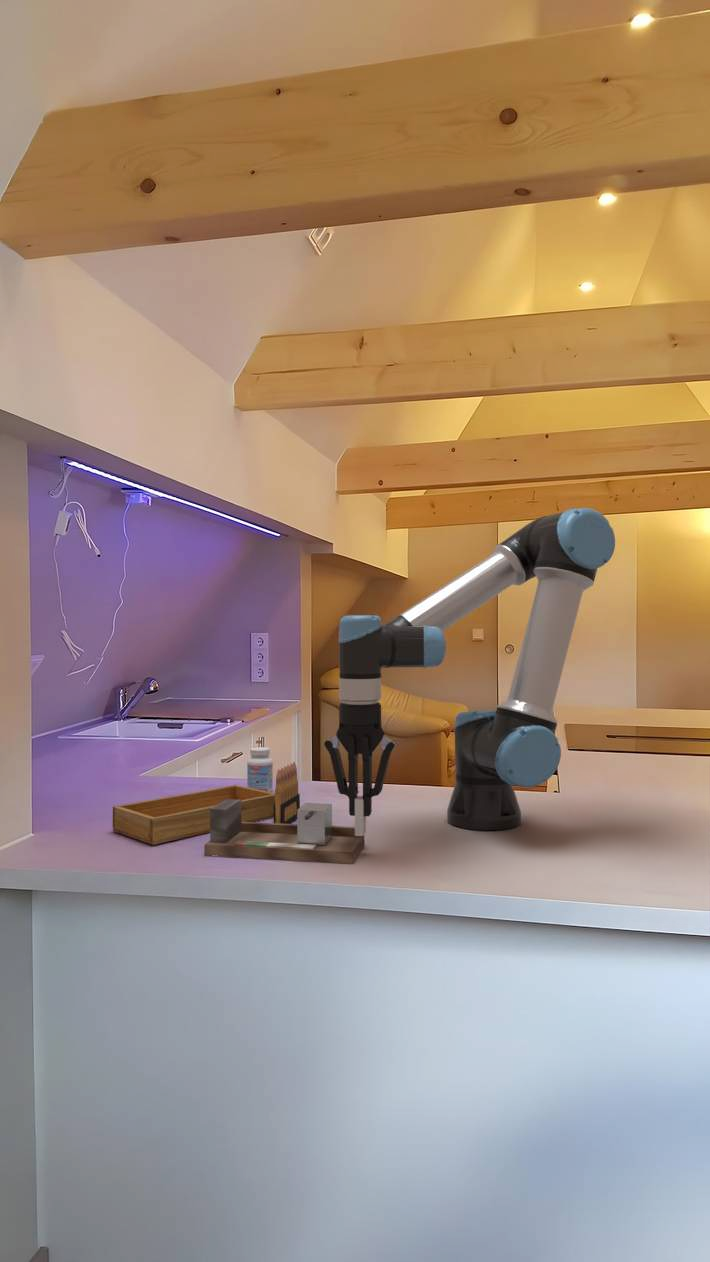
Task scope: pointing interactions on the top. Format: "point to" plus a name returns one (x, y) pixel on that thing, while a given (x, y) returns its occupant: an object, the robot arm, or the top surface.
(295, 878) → the top surface
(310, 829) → the cube with dark rod
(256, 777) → the pill bottle
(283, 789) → the ammunition clip
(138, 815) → the tray
